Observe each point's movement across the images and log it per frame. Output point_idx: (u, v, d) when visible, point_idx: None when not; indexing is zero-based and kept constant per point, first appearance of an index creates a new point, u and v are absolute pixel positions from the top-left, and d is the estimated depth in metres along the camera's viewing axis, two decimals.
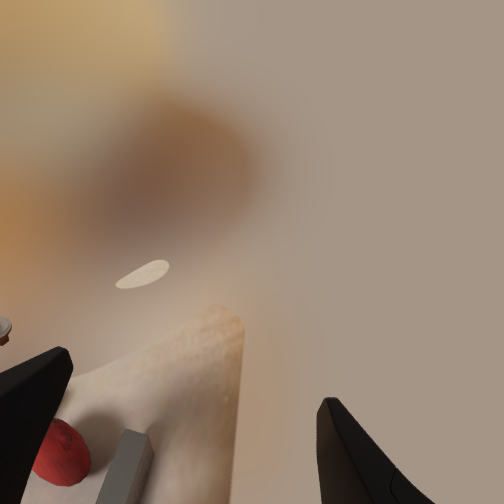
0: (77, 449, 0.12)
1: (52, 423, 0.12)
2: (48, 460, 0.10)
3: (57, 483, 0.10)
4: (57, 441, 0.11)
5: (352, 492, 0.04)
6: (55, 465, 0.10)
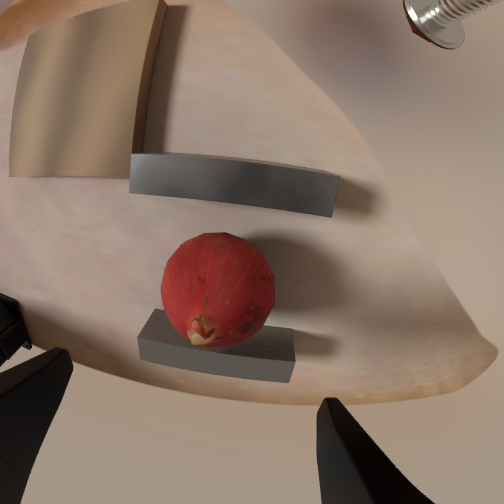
0: None
1: (237, 335, 0.12)
2: (176, 330, 0.13)
3: None
4: (210, 347, 0.12)
5: (352, 492, 0.04)
6: None
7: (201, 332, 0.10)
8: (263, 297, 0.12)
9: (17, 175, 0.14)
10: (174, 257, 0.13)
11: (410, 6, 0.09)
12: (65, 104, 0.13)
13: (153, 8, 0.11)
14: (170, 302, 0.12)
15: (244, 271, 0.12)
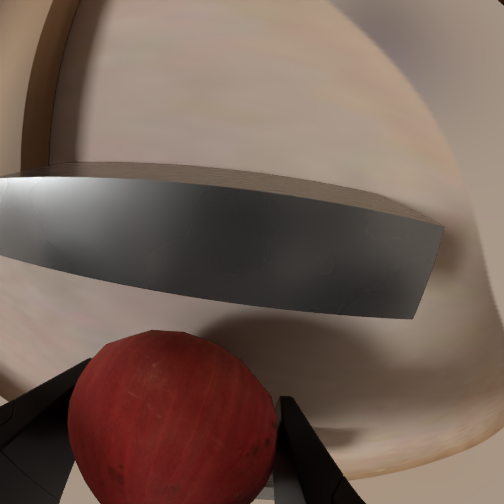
0: None
1: None
2: None
3: None
4: None
5: (294, 497, 0.04)
6: None
7: None
8: (253, 481, 0.05)
9: None
10: (76, 392, 0.05)
11: None
12: None
13: None
14: (81, 473, 0.04)
15: (209, 459, 0.04)
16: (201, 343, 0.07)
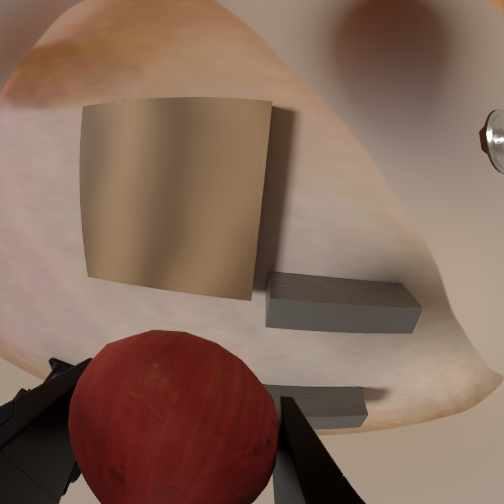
0: None
1: None
2: None
3: None
4: None
5: (294, 497, 0.04)
6: None
7: None
8: (255, 481, 0.04)
9: (101, 278, 0.18)
10: (76, 392, 0.05)
11: (490, 137, 0.12)
12: (164, 218, 0.16)
13: (266, 118, 0.14)
14: (82, 474, 0.04)
15: (211, 460, 0.04)
16: (202, 343, 0.07)
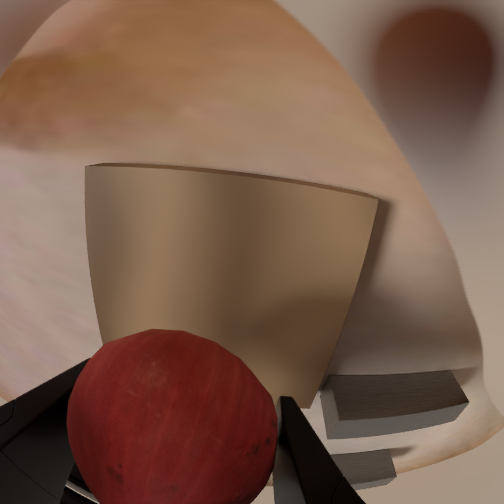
0: None
1: None
2: None
3: None
4: None
5: (294, 497, 0.04)
6: None
7: None
8: (253, 481, 0.04)
9: None
10: (75, 391, 0.05)
11: None
12: (216, 336, 0.12)
13: (367, 223, 0.10)
14: None
15: (209, 459, 0.04)
16: (201, 342, 0.07)
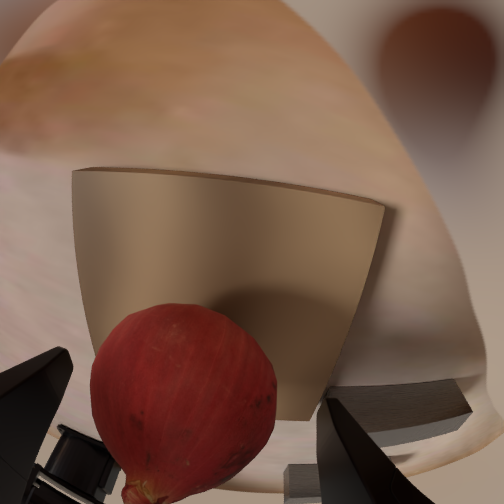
0: None
1: (210, 488, 0.05)
2: None
3: None
4: None
5: (352, 492, 0.04)
6: None
7: None
8: (256, 435, 0.06)
9: None
10: (101, 354, 0.06)
11: None
12: None
13: (372, 232, 0.09)
14: (99, 432, 0.05)
15: (220, 405, 0.05)
16: (213, 312, 0.08)
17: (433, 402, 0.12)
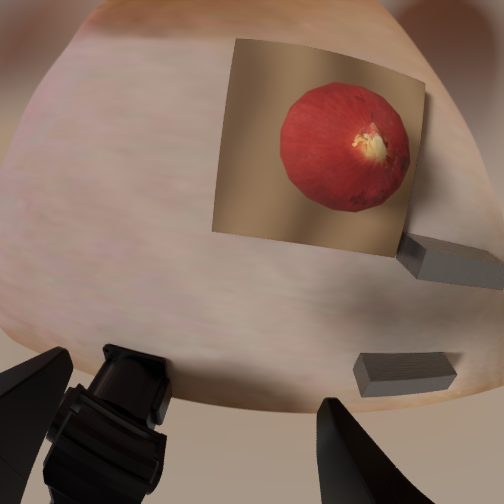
0: (360, 209, 0.11)
1: (397, 169, 0.09)
2: (316, 171, 0.09)
3: (283, 163, 0.12)
4: (363, 189, 0.09)
5: (352, 492, 0.04)
6: (312, 181, 0.10)
7: (381, 135, 0.07)
8: (408, 142, 0.09)
9: (232, 232, 0.17)
10: (308, 93, 0.10)
11: None
12: None
13: (421, 95, 0.13)
14: (318, 125, 0.09)
15: (392, 107, 0.09)
16: None
17: (479, 254, 0.16)
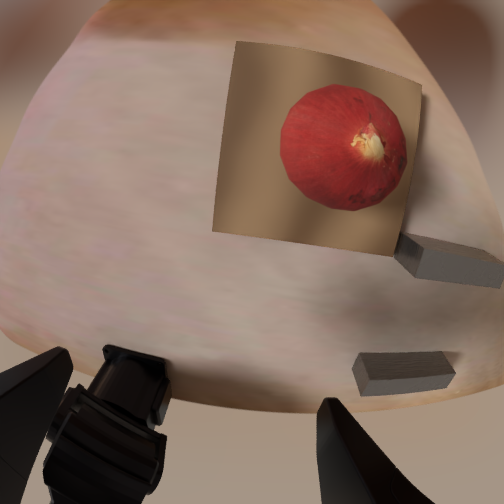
0: (359, 207, 0.11)
1: (395, 168, 0.09)
2: (315, 170, 0.10)
3: (283, 163, 0.12)
4: (361, 187, 0.09)
5: (352, 492, 0.04)
6: (312, 180, 0.10)
7: (379, 136, 0.07)
8: (405, 142, 0.10)
9: (232, 232, 0.17)
10: (307, 95, 0.10)
11: None
12: None
13: (417, 97, 0.13)
14: (318, 126, 0.09)
15: None
16: None
17: (476, 253, 0.16)
